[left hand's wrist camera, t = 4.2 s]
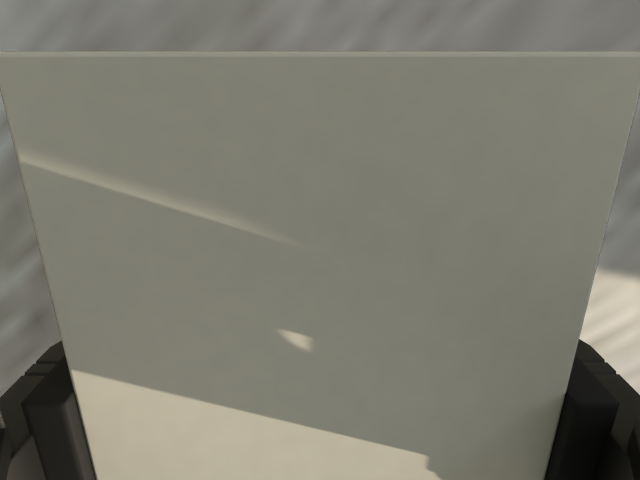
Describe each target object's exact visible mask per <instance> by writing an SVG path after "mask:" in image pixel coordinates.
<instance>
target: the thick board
mask: <svg viewBox="0 0 640 480" xmlns="http://www.w3.org/2000/svg"><path fill="white" fill-rule="evenodd" d="M0 91H1V95H2V99H3V103H4V107H5V111H6V115H7V119H8V123H9V127H10V131H11V135H12V139H13V144H14V148H15V152H16V156H17V160H18V164H19V168H20V172H21V176H22V180H23V184H24V188H25V192H26V196H27V201H28V205H29V209H30V213H31V217H32V221H33V225H34V229H35V233H36V237H37V241H38V245H39V249H40V253H41V258H42V262H43V266H44V270H45V274H46V278H47V282H48V286H49V290H50V294H51V298H52V302H53V306H54V310H55V315H56V319H57V323H58V327H59V331H60V335H61V339H62V343H63V347H64V351H65V355H66V359H67V363H68V367H69V371H70V376H71V380H72V384H73V388H74V392H75V396H76V400H77V404H78V408H79V412H80V416H81V420H82V424H83V428H84V433H85V437H86V441H87V445H88V449H89V453H90V457H91V461H92V465H93V469H94V473H95V477H96V480H544V479H545V475H546V471H547V467H548V463H549V459H550V455H551V451H552V446H553V442H554V438H555V434H556V430H557V426H558V422H559V418H560V414H561V410H562V406H563V402H564V398H565V394H566V390H567V386H568V382H569V377H570V373H571V369H572V365H573V361H574V357H575V353H576V349H577V345H578V341H579V337H580V333H581V329H582V325H583V321H584V317H585V312H586V308H587V304H588V300H589V296H590V292H591V288H592V284H593V280H594V276H595V272H596V268H597V264H598V260H599V256H600V252H601V248H602V243H603V239H604V235H605V231H606V227H607V223H608V219H609V215H610V211H611V207H612V203H613V199H614V195H615V191H616V187H617V183H618V179H619V174H620V170H621V166H622V162H623V158H624V154H625V150H626V146H627V142H628V138H629V134H630V130H631V126H632V122H633V118H634V114H635V110H636V105H637V101H638V97H639V93H640V51H0Z"/></svg>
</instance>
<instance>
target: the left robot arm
mask: <svg viewBox="0 0 640 480" xmlns="http://www.w3.org/2000/svg"><path fill="white" fill-rule="evenodd" d="M0 480H96V477H95V473H94V469H93V465H92V461H91V457H90V453H89V449H88V445H87V441H86V437H85V433H84V428H83V424H82V420H81V416H80V412H79V408H78V404H77V400H76V396H75V392H74V388H73V384H72V380H71V376H70V371H69V367H68V363H67V359H66V355H65V351H64V347H63V343H62V341H60V342H58V343H57V344H55V345H53V346H51V347H50V348H49V349H48V350H47V351H46V352H45V353H44V354H43V355H42V356H41V357H40V358H39V359H38V360H37V361H36V364H33V365H32V366H31V367H30V368H29V369H28V370H27V371H26V372H25V375H24V376H21V377H20V378H19V379H18V380H17V381H16V382H15V383H14V384H13V385H12V386H11V387H10V388H9V389H8V390H7V391H6V392H5V393H4V394H3V395H2V396H1V397H0ZM544 480H640V395H639V394H638V393H637V392H636V391H635V390H634V389H633V388H632V387H631V386H630V385H629V384H628V383H627V382H626V381H625V380H624V379H623V378H622V377H621V376H620V375H619V374H616V371H615V370H614V369H613V368H612V367H611V366H610V365H609V364H608V363H605V361H604V359H603V358H602V357H601V356H600V355H599V354H598V353H597V352H596V351H595V350H594V349H593V348H592V347H591V346H590V345H588V344H587V343H585V342H583V341H582V340H580V339H579V341H578V345H577V349H576V353H575V357H574V361H573V365H572V369H571V373H570V377H569V382H568V386H567V390H566V394H565V398H564V402H563V406H562V410H561V414H560V418H559V422H558V426H557V430H556V434H555V438H554V442H553V446H552V451H551V455H550V459H549V463H548V467H547V471H546V475H545V479H544Z"/></svg>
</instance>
